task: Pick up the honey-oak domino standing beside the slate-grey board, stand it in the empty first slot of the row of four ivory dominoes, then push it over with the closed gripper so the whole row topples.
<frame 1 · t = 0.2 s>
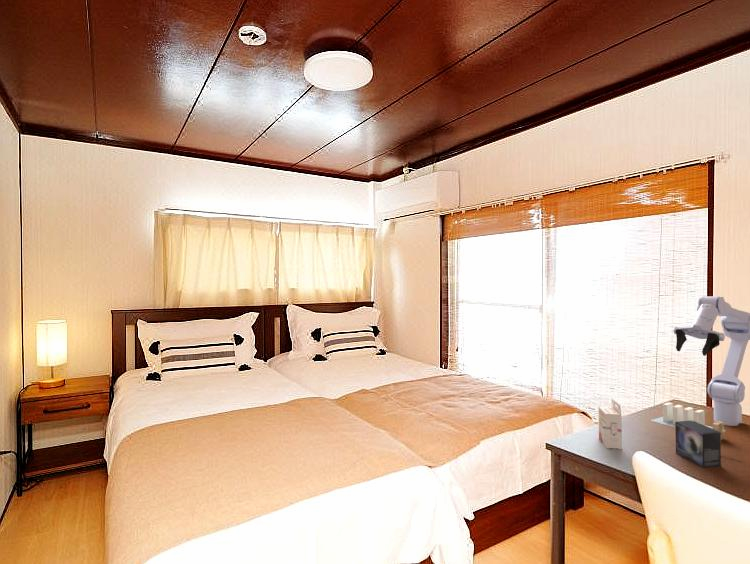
hand: (690, 351, 145), 31 cm above the table, tool tilted 45°, fingers open, 7 cm apart
tile 5: (667, 420, 163), point 1 cm above the table, touching domino board
tile 3: (688, 425, 156), point 1 cm above the table, touching domino board
tile 4: (678, 423, 159), point 1 cm above the table, touching domino board
tile 2: (699, 428, 153), point 1 cm above the table, touching domino board
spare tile: (718, 441, 143), on the table
domino board: (687, 427, 157), on the table
ink cartridge box: (609, 444, 143), on the table
small box: (697, 460, 130), on the table
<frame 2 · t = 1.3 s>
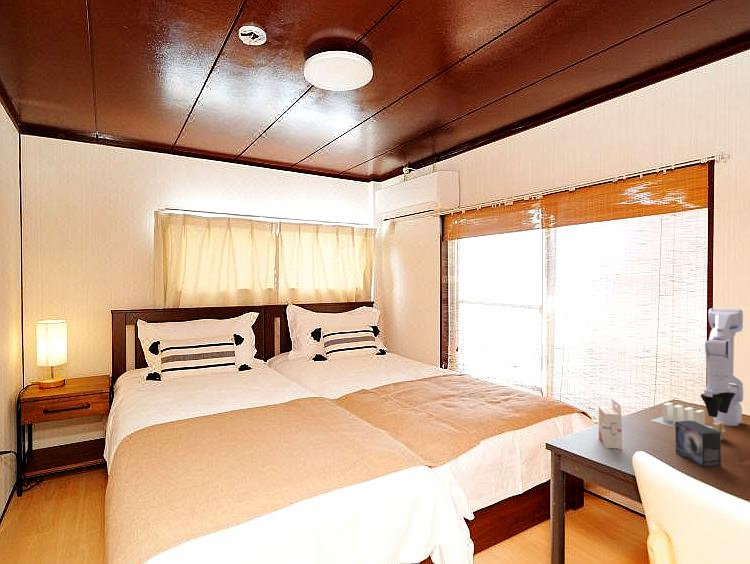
hand: (718, 414, 143), 9 cm above the table, tool pointing down, fingers open, 7 cm apart
nothing on the table moved.
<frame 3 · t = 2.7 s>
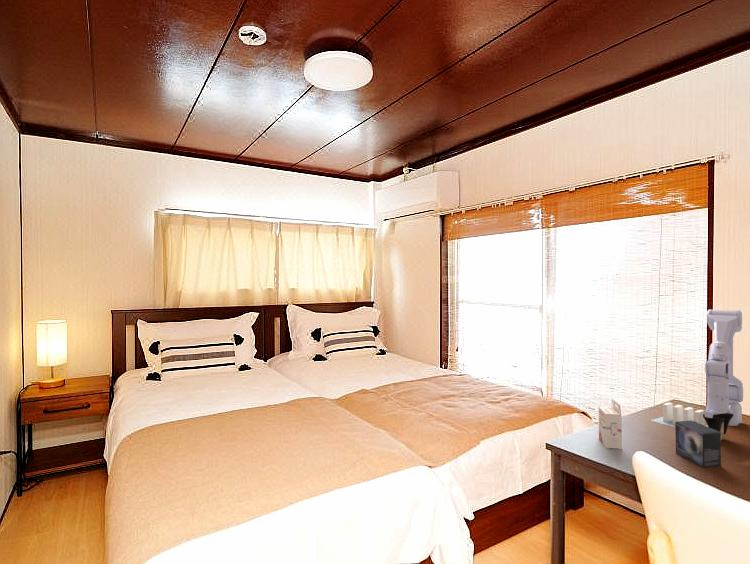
hand: (718, 434, 143), 2 cm above the table, tool pointing down, fingers closed on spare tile, 4 cm apart
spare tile: (718, 441, 143), on the table, touching gripper
everything else where it was.
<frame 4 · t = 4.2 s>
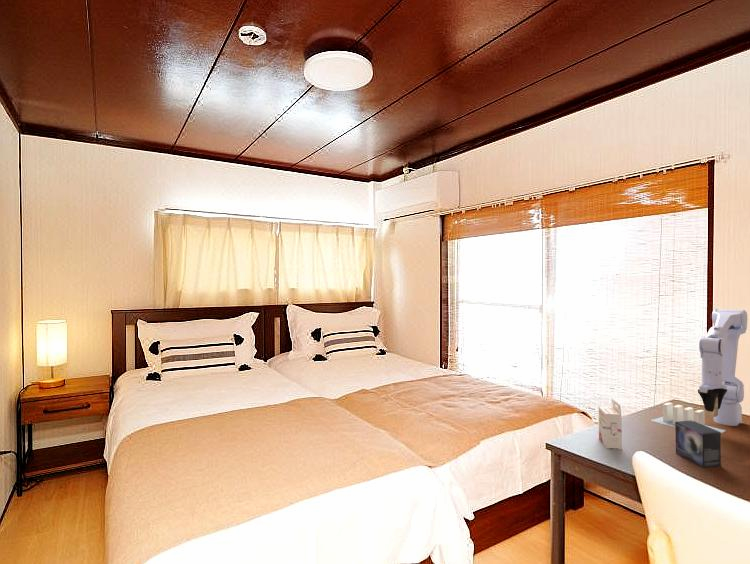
hand: (712, 409, 149), 9 cm above the table, tool pointing down, fingers closed on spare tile, 4 cm apart
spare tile: (712, 416, 149), point 7 cm above the table, touching gripper
everything else where it was.
when the fingers open (4 cm above the table, at t = 5.8 s): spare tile stays where it is, resting on domino board.
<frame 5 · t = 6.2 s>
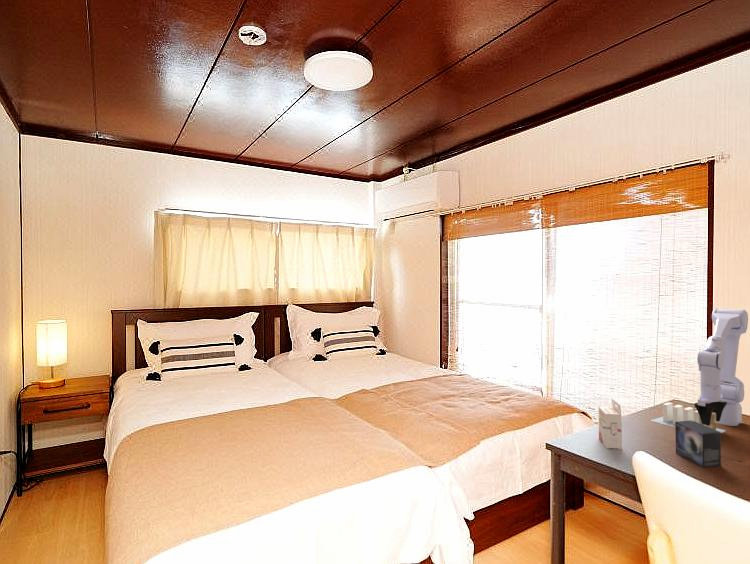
hand: (710, 422, 150), 4 cm above the table, tool pointing down, fingers open, 7 cm apart
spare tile: (710, 431, 150), point 1 cm above the table, touching domino board
everything else where it was.
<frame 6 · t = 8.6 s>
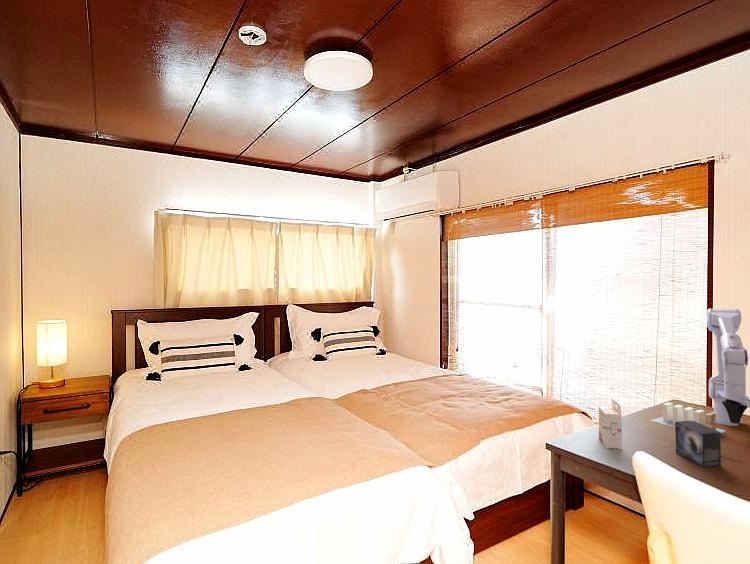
hand: (735, 422, 144), 6 cm above the table, tool pointing down, fingers closed
nothing on the table moved.
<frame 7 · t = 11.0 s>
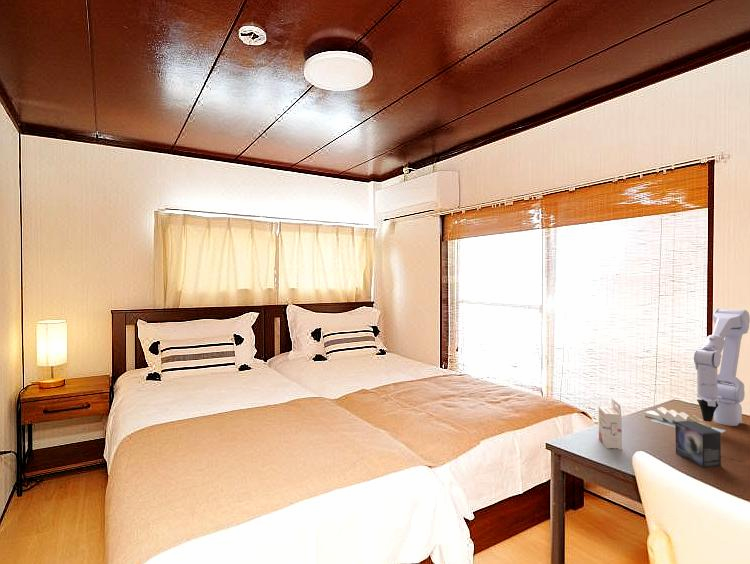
hand: (707, 420, 151), 4 cm above the table, tool pointing down, fingers closed
tile 5: (665, 417, 163), point 2 cm above the table, tilted 89°, touching domino board, tile 4
tile 3: (686, 423, 157), point 1 cm above the table, tilted 65°, touching domino board, tile 2
tile 4: (675, 420, 160), point 1 cm above the table, tilted 64°, touching tile 5
tile 2: (697, 426, 154), point 1 cm above the table, tilted 65°, touching domino board, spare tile, tile 3
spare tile: (708, 429, 151), point 1 cm above the table, tilted 65°, touching domino board, tile 2
everything else where it was.
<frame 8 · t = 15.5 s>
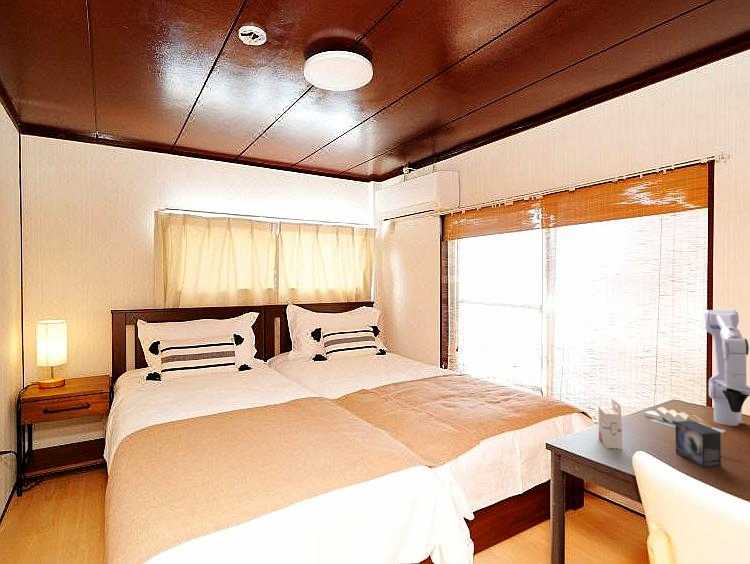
hand: (735, 411, 146), 9 cm above the table, tool pointing down, fingers closed
tile 3: (686, 423, 157), point 1 cm above the table, tilted 65°, touching domino board, tile 2, tile 4
tile 4: (675, 420, 160), point 1 cm above the table, tilted 64°, touching domino board, tile 3, tile 5
everything else where it was.
at the end: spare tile inside the target area (0.1 cm from its centre), point 1.5 cm above the table; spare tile tilted 65°; tile 5 tilted 90° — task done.
